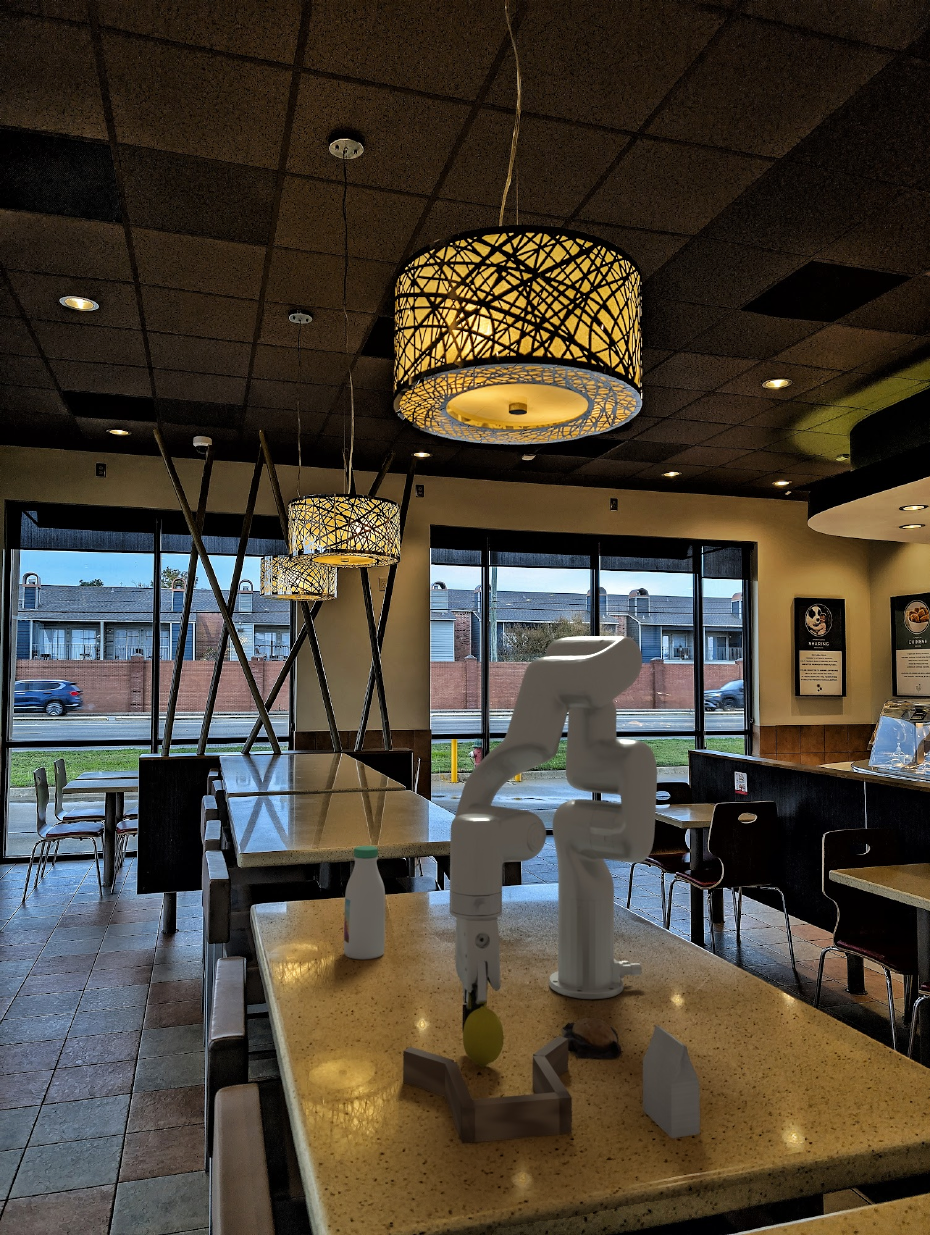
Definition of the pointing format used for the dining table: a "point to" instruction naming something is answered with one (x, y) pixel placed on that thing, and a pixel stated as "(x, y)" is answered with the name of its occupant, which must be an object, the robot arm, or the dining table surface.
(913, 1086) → the dining table surface
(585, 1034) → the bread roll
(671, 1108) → the grey block
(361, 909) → the milk bottle
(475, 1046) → the lemon
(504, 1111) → the corral
